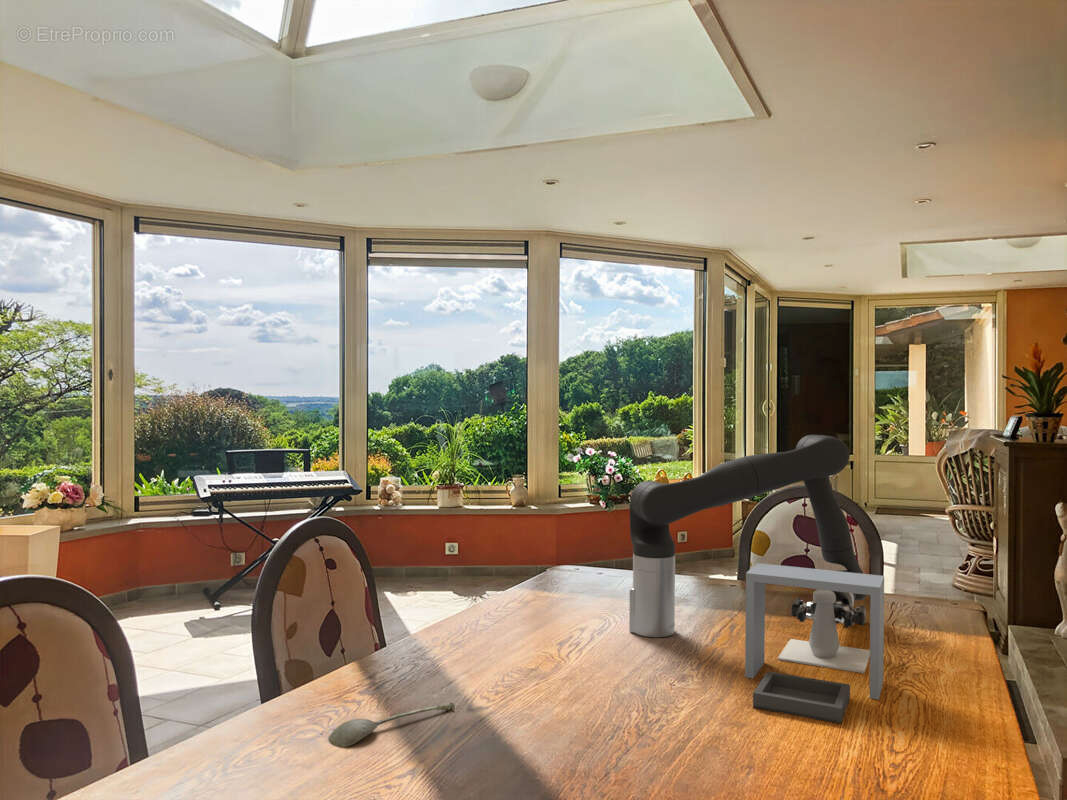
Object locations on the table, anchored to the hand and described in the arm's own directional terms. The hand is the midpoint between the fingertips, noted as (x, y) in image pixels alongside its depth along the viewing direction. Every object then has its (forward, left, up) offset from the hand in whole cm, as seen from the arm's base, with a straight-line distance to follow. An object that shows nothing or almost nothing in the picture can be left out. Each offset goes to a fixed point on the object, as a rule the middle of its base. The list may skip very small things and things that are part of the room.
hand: (823, 620), depth 160 cm
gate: (0, -12, -8) cm, 14 cm away
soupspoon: (-56, -65, -9) cm, 86 cm away
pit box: (0, -25, -8) cm, 26 cm away
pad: (0, +3, -8) cm, 9 cm away
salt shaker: (0, +2, -8) cm, 8 cm away
